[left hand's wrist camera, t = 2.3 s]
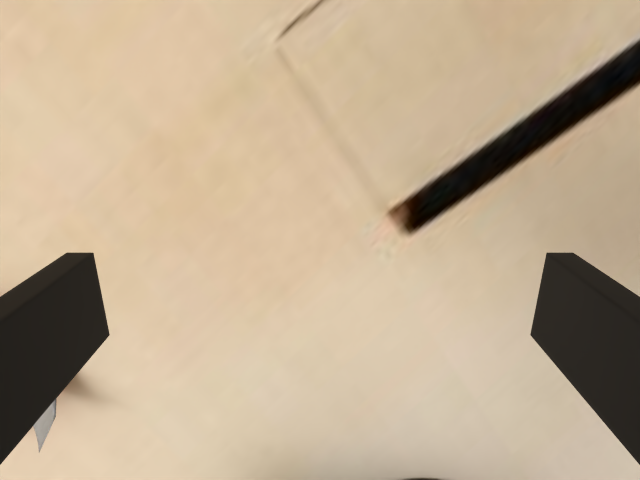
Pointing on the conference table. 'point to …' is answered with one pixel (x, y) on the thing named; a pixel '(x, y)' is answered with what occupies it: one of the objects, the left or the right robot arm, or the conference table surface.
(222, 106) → the conference table surface
